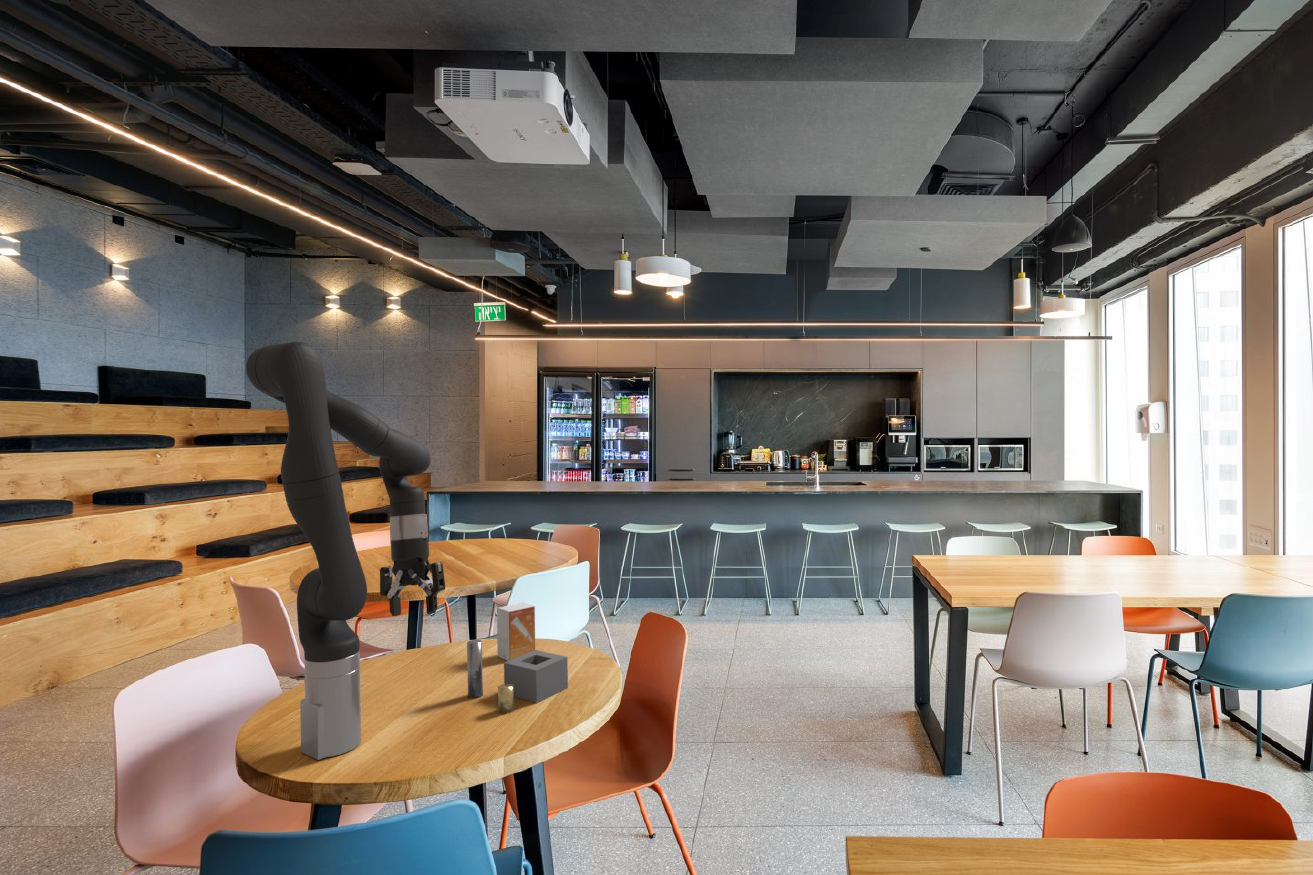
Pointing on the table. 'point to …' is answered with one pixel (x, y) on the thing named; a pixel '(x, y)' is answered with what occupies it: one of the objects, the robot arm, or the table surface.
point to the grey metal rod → (474, 669)
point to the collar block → (536, 675)
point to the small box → (515, 630)
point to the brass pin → (505, 698)
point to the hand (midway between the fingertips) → (414, 614)
